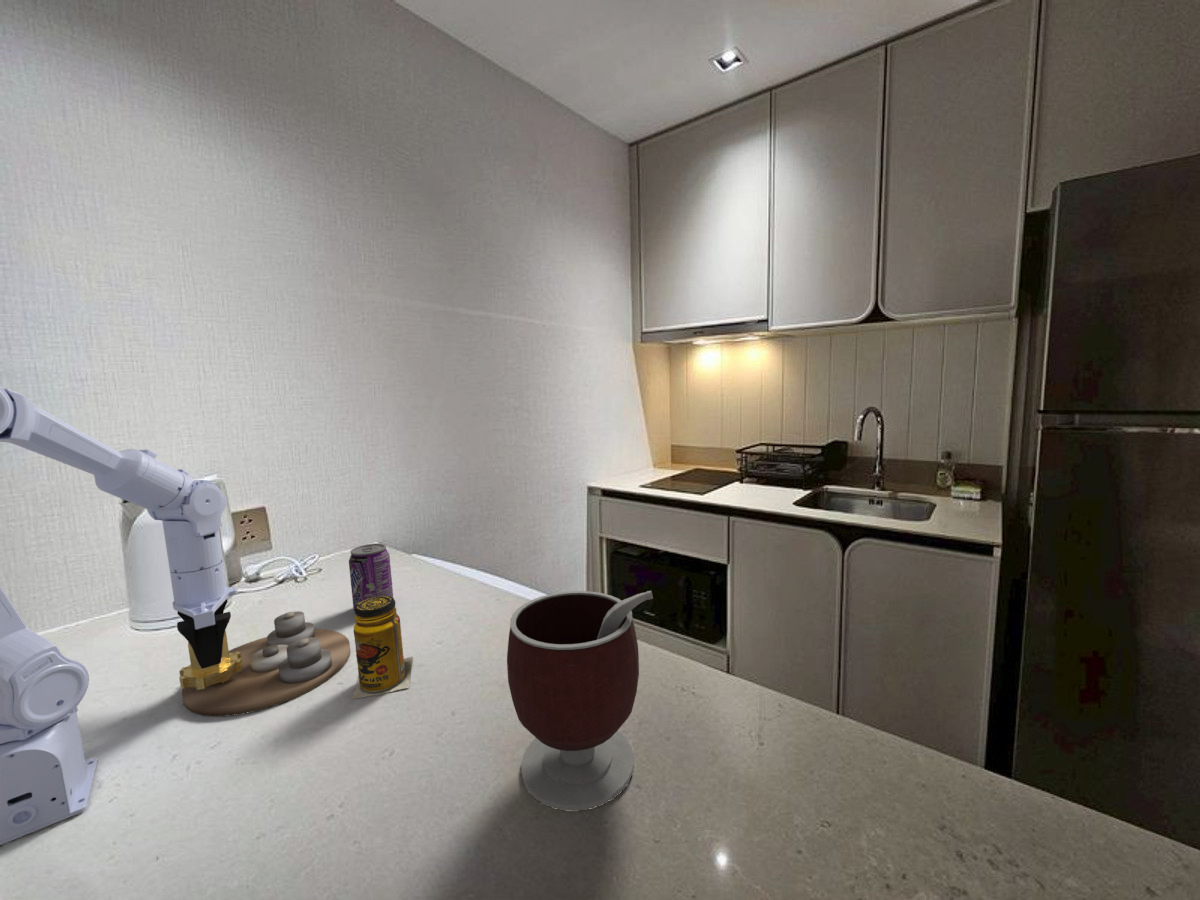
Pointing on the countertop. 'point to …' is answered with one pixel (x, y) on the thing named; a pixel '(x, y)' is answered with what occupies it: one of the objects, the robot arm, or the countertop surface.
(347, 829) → the countertop surface
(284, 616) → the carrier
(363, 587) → the beverage can
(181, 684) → the brass gear
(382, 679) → the condiment
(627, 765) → the mate gourd
